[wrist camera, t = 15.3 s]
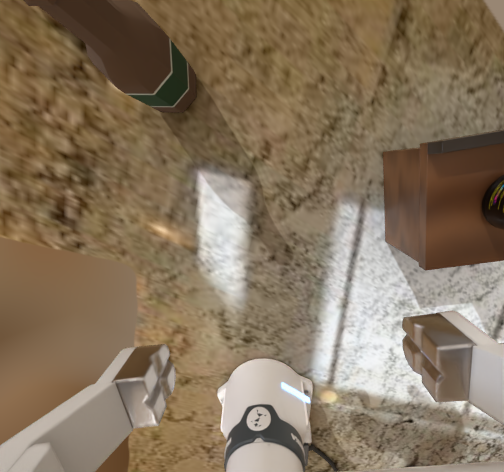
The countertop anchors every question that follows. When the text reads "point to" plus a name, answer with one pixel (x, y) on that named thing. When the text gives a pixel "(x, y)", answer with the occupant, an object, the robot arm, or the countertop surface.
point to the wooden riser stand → (444, 200)
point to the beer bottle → (128, 50)
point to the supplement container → (494, 203)
